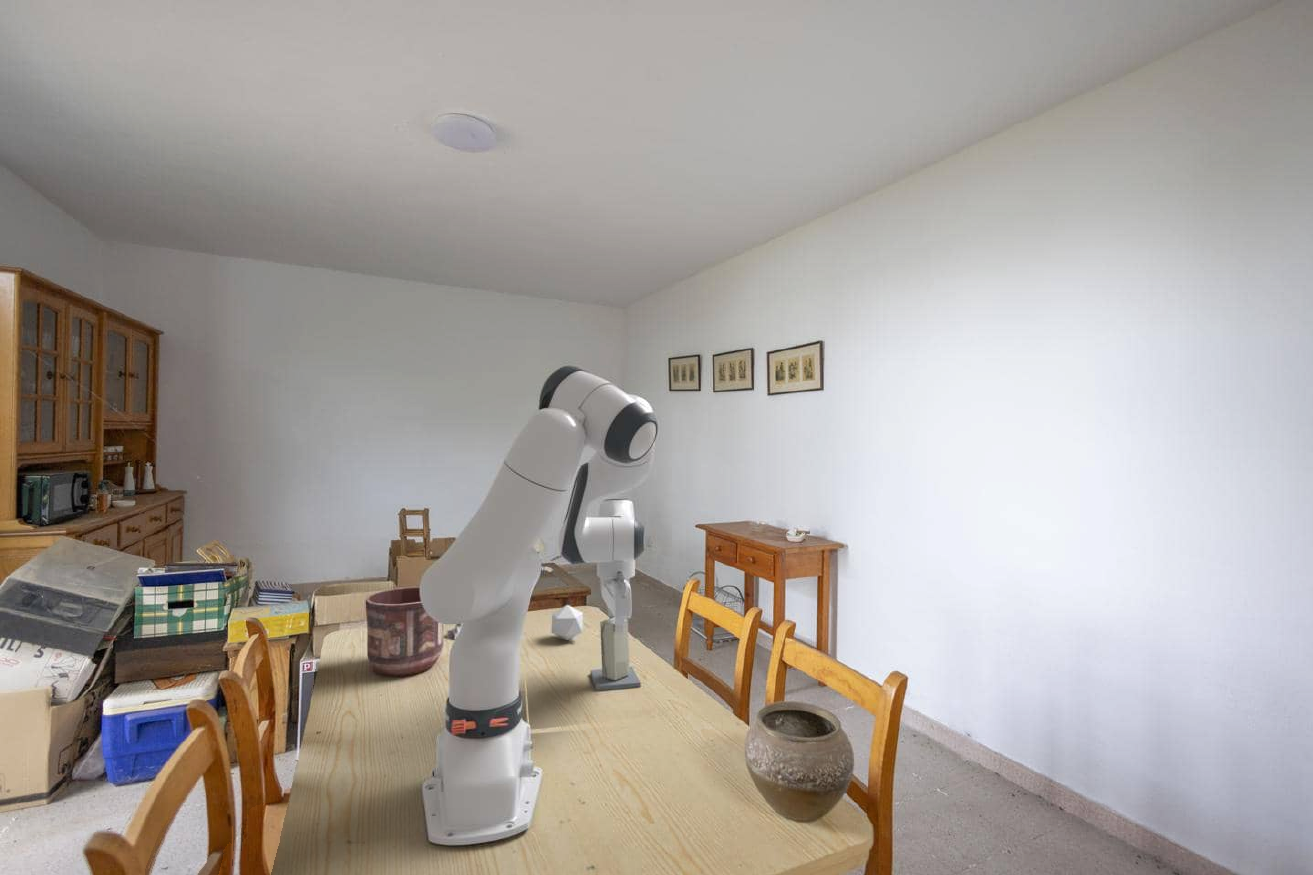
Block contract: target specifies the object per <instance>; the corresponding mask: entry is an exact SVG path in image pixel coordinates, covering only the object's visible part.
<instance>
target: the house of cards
mask: <svg viewBox="0 0 1313 875" xmlns="http://www.w3.org/2000/svg"><path fill="white" fill-rule="evenodd" d="M462 625H463V624H462V623H460V624H455V627H454V628H452V629H449V630H446V636H447V639H449V638H453V639H454V641H455V640H456V638H457V637H458V635H459V633H460V630H461V628H462Z"/></svg>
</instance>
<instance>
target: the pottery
mask: <svg viewBox="0 0 1313 875" xmlns="http://www.w3.org/2000/svg"><path fill="white" fill-rule="evenodd" d="M365 613H366V629H367V633H366V634H367V637H366V638H367V640H366V641H367V642H366V644H367V647H366V652H367V653H366V654H367V658H368V661H369V663H370V666H371V668H372V669H373V671H374V672H376V673H377V674H379V675H380V676H381V675H382V676H383V677H392V678H395V677H396V678H397V677H399V678H401V677H411V676H414V675H415V676H416V675H419V674H421V673H424V672H426V671H428V670H431V668H432V667H433V666H434V665H435V664H436V663H437V661H438V660H439V658H440V657H441V655H442V652H443V650H444V624H442V623H439V622H437V621H435V620H434V619H432V618H431V617H430V616H429V615H428V614H427V612H426V611H425V609H424V608H423V605H422V603H421V599H420V586H409V587H408V586H407V587H399V588H392V589H391V588H390V589H387V590H383V591H378V592H375V593H373V594H371V595H369V596H367V597H366V599H365Z"/></svg>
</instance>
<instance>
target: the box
mask: <svg viewBox="0 0 1313 875" xmlns="http://www.w3.org/2000/svg"><path fill="white" fill-rule="evenodd" d="M628 621H629V620H628V619H625V620H624V624H623V633H621V634H616V633H615V631H614V624H615V618H614V617H613V618H611V619H609V618H608V619H605V620H602V621H600V622H599V623H600V624H599V626H600V627H599V628H600V647H601V648H600V649H601V653H600V654H601V669H602V676H603V677H606V678H609V679H612V680H617V679H620V678H622V677H624V676H626V675H628V674H630V667H631V666H630V648H629V646H630V645H629V624H628Z"/></svg>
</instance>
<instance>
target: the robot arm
mask: <svg viewBox="0 0 1313 875" xmlns="http://www.w3.org/2000/svg"><path fill="white" fill-rule="evenodd" d="M538 400H539V401H538V403H539V405H538V410H537V411H536V412H534V413H533V414H532V415H531V417H530V418H529V419H528V420H527V422H526V423H525V425H524V426H523V427H522V429H521V430H520V432H519V433H518V435H517V437H516V438H515V439H514V442H513V443H512V445H511V446H510V448H509V450H508V451H507V454H506V456H505V457H504V460H503V462H502V464H501V466H500V469H499V470H498V473H497V475H496V476H495V479H494V480H493V483H492V484H491V487H490V489H489V491H488V493H487V495H486V496H485V499H484V500H483V502H482V503H481V504H480V507H479V508H478V510H477V511H476V512H475V513H474V515H473V517H472V518H471V519H470V520H469V522H468V523H467V524H466V526H464V528H463V530H462V531H461V532H460V533H459V535H458V536H457V538H455V540H454V541H453V542H452V544H451V545H450V546H449V548H448V549H447V550H446V551H445V552H444V553H443V554H442V555H441V556H440V557H439V558H438V559H436V561H435V562H434V563H432V565H430V566H429V567H428V568H427V569H426V570H425V572H424V573H423V575H422V577H421V580H420V583H419V587H420V599H421V603H422V605H423V608H424V609H425V611H426V612H427V614H428V615H429V616H430V617H431V618H432V619H434V620H435V621H437V622H439V623H442V624H443V625H450V626H451V625H456V624H460V623H461V625H462V628H461V630H460V633H459V635H458V637H457V638H456V640H455V639H454V641H453V643H452V646H451V649H450V652H449V666H448V667H449V669H448V670H449V672H448V675H449V676H448V697H447V699H446V701H445V702H446V703H445V708H444V709H445V711H444V717H445V726H444V728H443V729H442V730H441V731H440V732H439V733H437V735H436V756H435V757H436V761H435V763H436V765H435V766H436V768H433V770H432V777H431V778H429V779H426V780H425V781H424V782H422V788H421V795H422V801H423V809H424V815H425V816H424V817H425V822H426V823H425V824H426V832H427V837H428V841H429V842H430V843H433V844H435V845H436V844H437V845H443V846H466V845H473V844H481V843H487V842H493V841H499V840H502V839H505V838H509V837H511V836H514V835H515V836H516V835H517V834H519V833H522V832H524V831H525V830H528V828H529V827H530V825H531V824H532V821H533V820H532V819H533V815H534V811H535V807H536V805H537V804H536V803H537V800H538V796H539V792H540V787H541V784H542V780H543V769H542V768H541V767H539V766H536V765H535V763H534V760H532V759H531V751H533V741H531V725H530V724H529V723H527V722H526V721H524V719H523V718H522V716H523V698H522V697H523V696H522V691H521V690H520V668H521V667H520V665H521V664H520V663H521V662H520V661H521V660H520V658H521V647H522V646H521V645H522V644H521V643H522V638H523V633H524V628H525V625H526V624H525V623H526V620H527V619H526V618H527V615H528V611H529V606H530V601H531V597H532V594H533V591H534V588H535V586H536V584H537V583H538V580H539V578H540V576H541V573H542V561H541V558H540V555H539V553H538V551H537V550H536V548H535V547H534V546H536V545H535V544H537V542H538V541H539V540H540V539H541V538H542V537H543V536H544V535H545V534H546V533H547V531H548V530H549V527H550V526H551V523H552V521H553V520H554V517H555V515H556V513H557V511H558V509H559V508H560V506H561V503H562V501H563V499H564V497H565V495H566V493H567V491H568V489H569V487H570V485H571V483H572V481H573V478H574V475H575V473H576V471H577V468H578V466H579V463H580V461H581V457H582V454H583V452H584V451H583V450H584V449H585V448H586V447H587V446H588V447H589V448H591V449H593V450H595V453H594V454H593V456H592V457H591V458H590V460H588V462H585V463H583V464H581V465H580V468H579V469H578V471H577V474H576V477H575V480H574V484H573V486H572V491H571V494H570V499H569V503H568V507H567V512H566V514H565V517H564V520H563V522H562V523H563V524H562V526H561V528H560V530H559V531H560V532H559V535H558V549H559V553H560V555H561V557H562V558H563V559H564V560H565V561H567V562H569V563H570V564H571V565H580V564H587V563H596V576H597V577H598V578H600V579H599V580H600V583H599V584H600V592H601V597H602V599H603V601H604V603H605V604H606V605H607V612H608V619H611V618H613V617H614V618H615V624H614V631H615V633H616V634H621V633H623V624H624V620H625V619H626V620H628V619H631V617H632V612H633V611H632V606H633V605H632V588H631V584H630V579H631V578H633V577H635V576H636V559H638V558H639V557H640V556H641V554H643V553H644V551H645V544H644V535H645V526H644V525H643V524H642V523H641V522H640V521H639V520H638V519H636V518H635V517H636V516H635V510H634V503H633V501H632V500H630V499H627V498H608V499H604V500H602V501H601V502H600V506H599V510H598V517H594V516H592V517H591V516H588V514H589V511H590V507H591V505H592V504H593V503H594V502H595V501H598V500H599V499H602V498H605V497H607V496H608V497H609V496H612V495H615V494H620V493H626V492H628V491H631V490H633V489H636V488H637V487H638V486H640V485H641V484H643V483H644V481H646V480H647V478H648V477H649V475H650V474H651V470H652V467H653V463H654V456H655V450H656V449H655V446H656V439H657V435H658V431H659V429H658V428H659V427H658V421H657V418H656V415H655V414H654V411H653V408H652V406H651V405H650V403H649V402H648V401H647V400H645V399H644V398H642V397H641V396H639V395H635V394H628V393H626V392H625V391H623V390H622V389H620V388H618V387H617V385H615V384H614V383H612V382H610V381H608V380H606V379H604V378H602V377H600V376H597V375H596V374H592V373H590V371H588V370H586V369H584V368H581V367H578V366H573V365H564V366H561V367H559V368H558V369H557V370H555V371H553V372H552V373H551V374H550V375H549V376H548V377H547V378H546V380H545V381H544V383H543V385H542V388H541V391H540V395H539V399H538Z"/></svg>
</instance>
